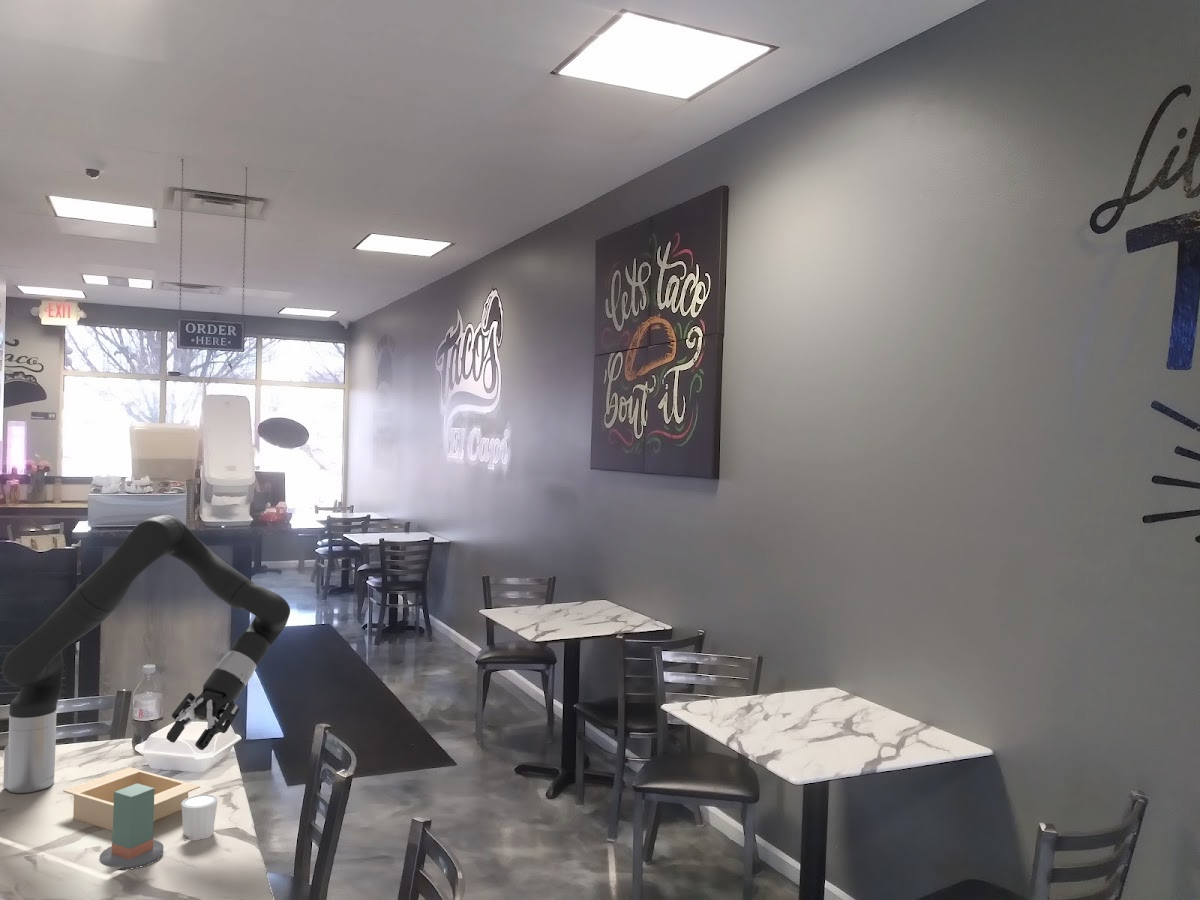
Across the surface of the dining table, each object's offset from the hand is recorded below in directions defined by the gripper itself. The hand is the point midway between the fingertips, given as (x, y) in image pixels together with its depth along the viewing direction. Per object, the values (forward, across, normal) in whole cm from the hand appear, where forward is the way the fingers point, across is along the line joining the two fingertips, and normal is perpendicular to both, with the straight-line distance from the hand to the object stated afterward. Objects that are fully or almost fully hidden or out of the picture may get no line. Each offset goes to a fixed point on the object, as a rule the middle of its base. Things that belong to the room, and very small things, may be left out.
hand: (184, 744), depth 181 cm
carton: (+13, -16, +14) cm, 24 cm away
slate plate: (+21, +1, +5) cm, 22 cm away
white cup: (+12, +4, +14) cm, 19 cm away
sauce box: (+20, 0, +4) cm, 21 cm away
